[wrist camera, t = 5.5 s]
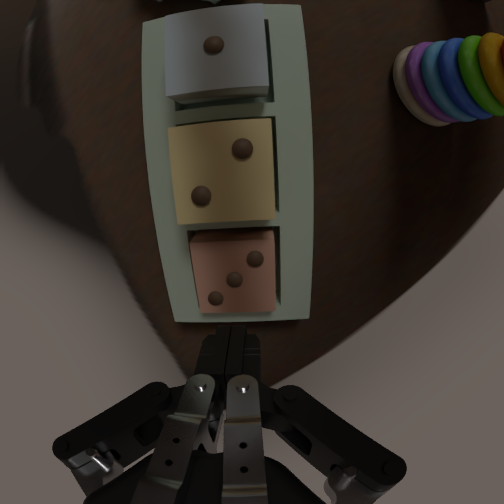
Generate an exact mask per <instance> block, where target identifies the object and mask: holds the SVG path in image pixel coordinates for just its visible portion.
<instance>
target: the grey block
mask: <svg viewBox="0 0 504 504" xmlns="http://www.w3.org/2000/svg"><path fill="white" fill-rule="evenodd" d="M165 88H166V97H168V98H170V99H172V100H174V101H176V102H178V103H181V104H183V105H185V104H192V103H199V102H207V101H216V100H227V99H239V98H256V97H267V93H268V89H269V76H268V62H267V49H266V37H265V25H264V14H263V3H260V4H240V5H228V6H219V7H211V8H203V9H197V10H191V11H186V12H181V13H176V14H171V15H167V16H165Z"/></svg>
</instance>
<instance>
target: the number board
mask: <svg viewBox="0 0 504 504" xmlns="http://www.w3.org/2000/svg"><path fill="white" fill-rule="evenodd" d="M263 14H264V25H265V37H266V49H267V62H268V76H269V89H268V93H267V97H256V98H239V99H227V100H216V101H207V102H199V103H192V104H185V105H183V104H181V103H178V102H176V101H174V100H172V99H170V98H168V97H166V88H165V17H162V18H158V19H154V20H151V21H147V22H143V31H142V102H143V122H144V136H145V148H146V159H147V168H148V177H149V186H150V193H151V201H152V208H153V214H154V221H155V227H156V233H157V239H158V245H159V250H160V255H161V261H162V266H163V271H164V275H165V280H166V285H167V289H168V294H169V298H170V303H171V307H172V311H173V315H174V319H175V322H248V321H274V320H292V319H308V318H309V314H310V299H311V280H312V256H313V143H312V120H311V102H310V88H309V75H308V63H307V53H306V44H305V35H304V26H303V19H302V11H301V5H287V4H263ZM263 118H271V125H272V144H273V165H274V190H275V219H270V220H248V221H229V222H211V223H196V224H181V225H178V223H177V215H176V208H175V200H174V191H173V183H172V173H171V163H170V152H169V140H168V128H171V127H178V126H185V125H192V124H200V123H209V122H218V121H230V120H244V119H263ZM263 226H272V228H273V234H274V241H275V286H276V311H266V312H235V313H201V311H200V305H199V300H198V294H197V288H196V282H195V276H194V270H193V264H192V257H191V250H190V241H191V240H192V238H193V237H194V235H195V234H196V232H197V231H198V230H204V229H222V228H241V227H263Z"/></svg>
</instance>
